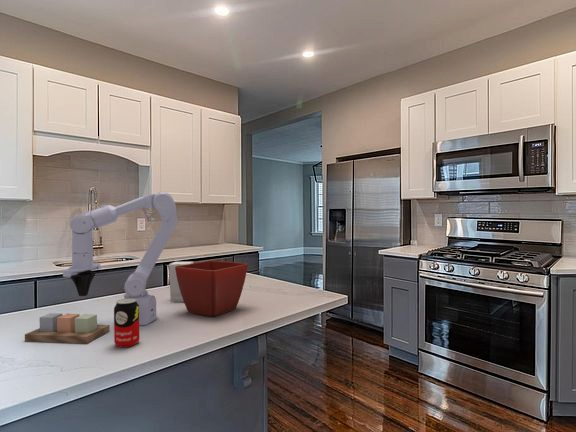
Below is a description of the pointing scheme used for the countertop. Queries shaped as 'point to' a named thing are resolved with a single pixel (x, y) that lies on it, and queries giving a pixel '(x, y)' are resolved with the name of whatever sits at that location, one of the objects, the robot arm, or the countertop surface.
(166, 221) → the robot arm
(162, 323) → the countertop surface
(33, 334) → the board
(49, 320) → the slate block
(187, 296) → the plant pot
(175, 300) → the skincare box
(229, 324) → the countertop surface
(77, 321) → the sage block
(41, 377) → the countertop surface
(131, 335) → the beverage can
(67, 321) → the terracotta block
